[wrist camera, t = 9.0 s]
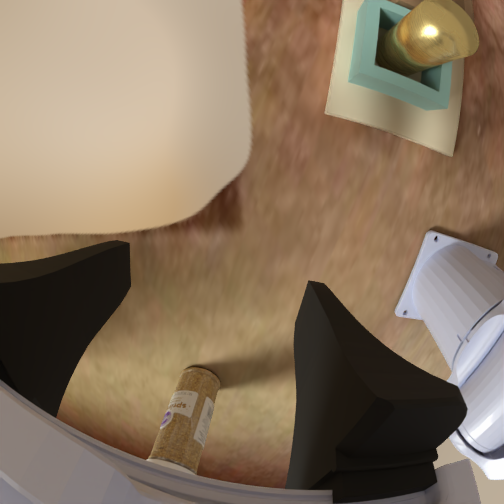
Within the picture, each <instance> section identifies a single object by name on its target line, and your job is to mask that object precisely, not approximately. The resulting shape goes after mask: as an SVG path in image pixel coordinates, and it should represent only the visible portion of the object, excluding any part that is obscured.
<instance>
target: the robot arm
mask: <svg viewBox="0 0 504 504" xmlns="http://www.w3.org/2000/svg"><path fill="white" fill-rule="evenodd" d="M436 236H437V239H436V240H434V238H435V237H436ZM488 254H489V255H488ZM497 259H498V254H497V253H496V252H494V251H491V250H489V249H486V248H483V247H480V246H478V245H475V244H472V243H469V242H466V241H463V240H460V239H457V238H454V237H451V236H448V235H445V234H442V233H439V232H436V231H433V230H430V231H428V232H427V233H426V235H425V238H424V241H423V244H422V246H421V249H420V252H419V254H418V257H417V260H416V262H415V265H414V267H413V270H412V272H411V275H410V277H409V279H408V282H407V284H406V286H405V289H404V291H403V293H402V296H401V298H400V300H399V302H398V304H397V306H396V309H395V314H396V315H397V316H398V317H405V318H412V319H420V320H423V321H424V323H425V324H426V326H427V328H428V329H429V331H430V333H431V334H432V336H433V338H434V340H435V342H436V343H437V345H438V347H439V349H440V351H441V352H442V354H443V356H444V358H445V360H446V362H447V364H448V366H449V367H450V369H451V371H452V374H451V376H450V377H449V379H448V380H447V381H445V380H442V379H440V378H438V377H436V376H433V375H431V374H429V373H427V372H426V371H424V370H422V369H420V368H418V367H416V366H415V365H413V364H411V363H410V362H408V361H406V360H405V359H403V358H402V357H401V356H399V355H398V354H396V353H395V352H393V351H392V350H390V349H389V348H388V347H386V346H385V345H384V344H383V343H381V342H380V341H379V340H378V339H377V338H376V337H374V336H373V335H372V334H371V333H370V332H369V331H368V330H366V329H365V328H364V327H363V326H362V325H361V324H360V323H359V322H358V321H357V320H356V319H355V317H354V316H353V315H352V314H351V313H350V312H349V311H348V310H347V309H346V308H345V306H344V305H343V304H342V303H341V302H340V301H339V300H338V298H337V297H336V296H335V295H334V294H333V292H332V291H331V290H330V289H329V288H328V287H327V286H326V285H325V284H324V283H320V282H315V281H309V280H308V284H307V287H306V290H305V293H304V297H303V300H302V303H301V306H300V309H299V313H298V316H297V319H296V322H295V331H294V359H295V375H296V414H295V426H294V435H293V444H292V451H291V458H290V465H289V471H288V476H287V482H286V487H285V489H278V488H267V487H258V486H250V485H243V484H237V483H231V482H225V481H220V480H215V479H210V478H205V477H201V476H197V475H193V474H189V473H185V472H181V471H178V470H174V469H171V468H168V467H164V466H161V465H158V464H155V463H152V462H149V461H146V460H144V459H141V458H138V457H135V456H133V455H130V454H128V453H125V452H123V451H120V450H118V449H116V448H113V447H111V446H109V445H106V444H104V443H102V442H100V441H98V440H96V439H94V438H91V437H89V436H87V435H85V434H84V433H82V432H80V431H78V430H76V429H74V428H72V427H70V426H69V425H67V424H65V423H63V422H61V421H60V420H58V419H56V416H57V413H58V410H59V406H60V403H61V400H62V398H63V395H64V393H65V390H66V388H67V385H68V383H69V381H70V378H71V376H72V374H73V372H74V370H75V368H76V366H77V364H78V362H79V361H80V359H81V357H82V355H83V353H84V352H85V350H86V348H87V346H88V345H89V344H90V342H91V341H92V339H93V338H94V337H95V335H96V334H97V333H98V331H99V330H100V329H101V328H102V326H103V325H104V324H105V323H106V321H107V320H108V319H109V318H110V316H111V315H112V314H113V313H114V311H115V310H116V309H117V308H118V306H119V305H120V304H121V302H122V301H123V299H124V297H125V296H126V294H127V292H128V290H129V289H130V287H131V276H130V243H127V242H123V241H118V240H116V241H109V242H104V243H100V244H97V245H93V246H89V247H86V248H83V249H79V250H76V251H72V252H68V253H64V254H61V255H57V256H53V257H49V258H44V259H39V260H33V261H26V262H16V263H5V264H0V504H481V502H480V497H479V493H478V489H477V485H476V481H475V478H474V474H473V471H472V467H471V464H470V461H469V459H464V460H461V461H458V462H454V463H450V464H447V465H444V466H441V467H439V468H437V469H434V465H433V462H434V461H435V460H437V459H438V454H437V450H436V448H437V447H438V446H439V445H441V444H442V443H443V442H444V441H445V440H446V439H447V438H448V437H449V439H450V440H451V442H452V443H453V445H454V446H455V447H456V449H457V450H458V451H459V452H460V453H462V454H463V455H465V456H467V457H469V458H470V459H471V460H473V461H474V462H475V463H476V464H477V465H478V466H479V467H480V468H481V469H482V470H483V471H484V473H485V474H486V476H487V478H488V479H491V480H504V271H502V270H501V269H500V268H499V267H498V266H496V265H495V264H496V262H497ZM406 310H407V311H406ZM404 311H406V312H405V313H403V312H404Z"/></svg>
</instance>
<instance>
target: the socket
mask: <svg viewBox="0 0 504 504" xmlns="http://www.w3.org/2000/svg"><path fill="white" fill-rule="evenodd" d="M410 11H411V10H409V9H407V8H405V7H402V6H400V5H397V4H395V3H392V2H390V1H387V0H364V2H363V3H362V5H361V6H360V8H359V10H358V11H357V20H356V29H355V36H354V44H353V51H352V58H351V64H350V71H349V77H348V82H349V83H353V84H356V85H359V86H362V87H366V88H369V89H372V90H375V91H378V92H381V93H383V94H386V95H389V96H392V97H394V98H397V99H400V100H402V101H405V102H407V103H410V104H412V105H414V106H417V107H419V108H421V109H424V110H426V111H429V110H439V109H448V105H449V96H450V87H451V75H452V61H450V62H447V63H444V64H441V65H438V66H435V67H432V68H429V69H426V70H423V71H422V73H421V82H420V83H419V82H417V81H414V80H412V79H410V78H407V77H405V76H402V75H400V74H397V73H395V72H392V71H390V70H387V69H384V68H381V67H379V66H376V65H374V63H375V56H376V48H377V39H378V29H379V27H381V28H383V29H386V30H390V29H391V28H392V27H393V26H394V25H395V24H396V23H397V22H399V21H400V20H401V19H402V18H403V17H404V16H406V15H407V14H408V13H409V12H410Z"/></svg>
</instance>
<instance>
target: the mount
mask: <svg viewBox="0 0 504 504" xmlns="http://www.w3.org/2000/svg"><path fill="white" fill-rule="evenodd" d="M387 1H390V2H392V3H395V4H397V5H400V6H402V7H405V8H407V9H409V10H413V9H414V8H415V7H416V6H417V5H419V4H420V3H421V2H422V1H420V0H387ZM452 1H453V2H455V3H456V4H458V5H459V6H460V7H461V8H462V9H463V10H464V11H465V12H466V13H467V14H468V15H469V17H470V18H471V20H472V21H473V23H474V13H473V4H472V0H452Z"/></svg>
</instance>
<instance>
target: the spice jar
mask: <svg viewBox="0 0 504 504" xmlns="http://www.w3.org/2000/svg"><path fill="white" fill-rule="evenodd" d="M219 388H220V381H219V379H218V378H217V376H215V375H214V374H213V373H212V372H210V371H208V370H206V369H202V368H198V367H190V368H187V369H184V370H183V371H182V372H181V374H180V380H179V382H178V385H177V387H176V390H175V392H174V394H173V396H172V398H171V401H170V403H169V406H168V408H167V411H166V414H165V416H164V419H163V421H162V424H161V427H160V431H159V434H158V436H157V439H156V442H155V444H154V447H153V450H152V452H151V455H150V456H149V457H148V458H149V459H147V460H146V461H149V462H152V463H155V464H158V465H161V466H164V467H168V468H171V469H174V470H178V471H181V472H185V473H189V474H193V475H196V474H197V467H198V464H199V460H200V457H201V453H202V450H203V448H204V445H205V441H206V437H207V433H208V429H209V425H210V422H211V418H212V414H213V410H214V403H215V399H216V395H217V392H218V390H219Z"/></svg>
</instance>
